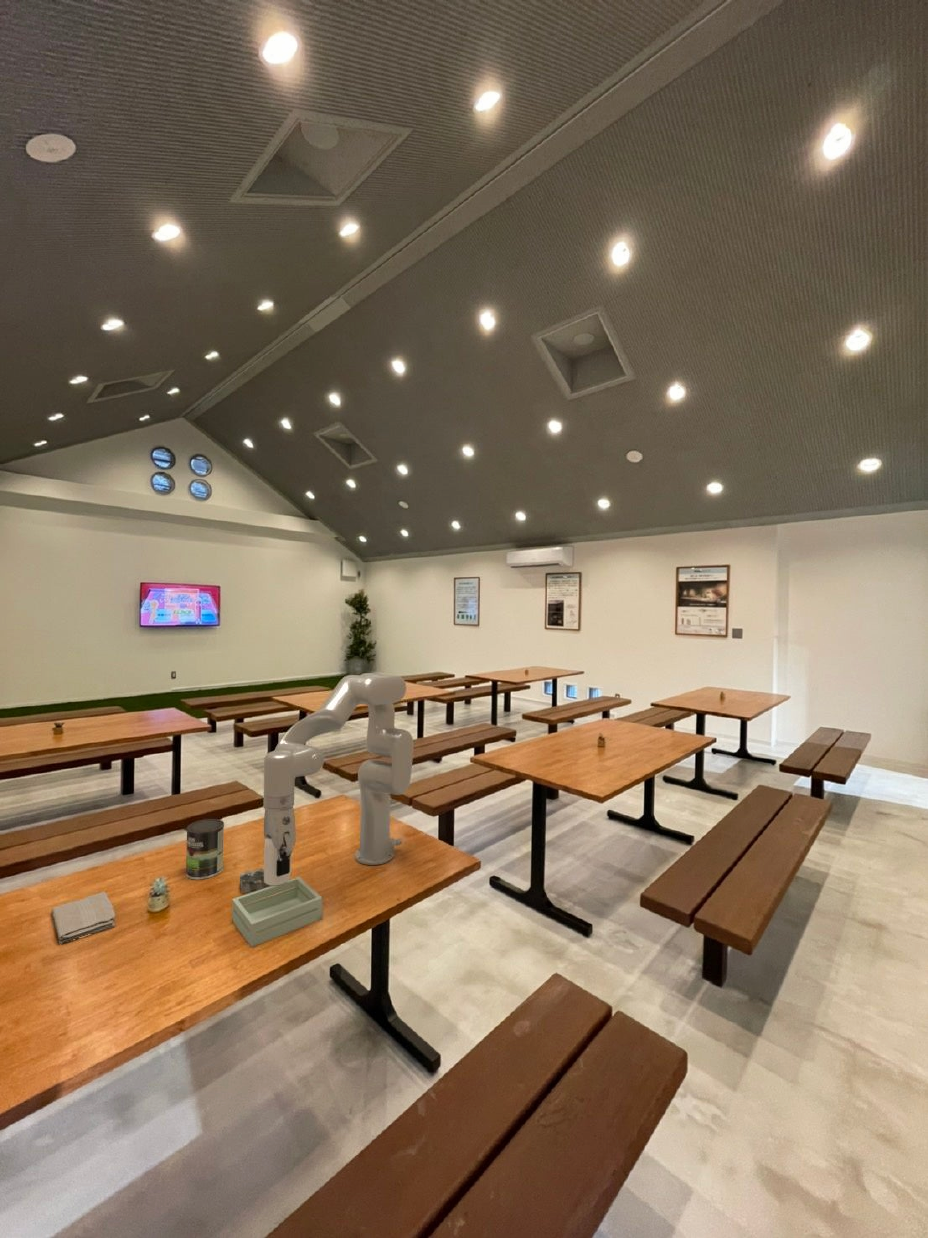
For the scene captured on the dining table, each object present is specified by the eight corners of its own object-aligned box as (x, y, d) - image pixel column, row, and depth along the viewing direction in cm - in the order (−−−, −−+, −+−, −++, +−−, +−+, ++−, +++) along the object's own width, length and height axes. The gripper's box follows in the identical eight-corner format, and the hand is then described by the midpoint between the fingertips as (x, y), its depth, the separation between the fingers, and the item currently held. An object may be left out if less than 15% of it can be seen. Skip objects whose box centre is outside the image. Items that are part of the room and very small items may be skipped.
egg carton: (239, 896, 147) (239, 882, 147) (238, 883, 154) (239, 869, 154) (280, 888, 151) (280, 874, 151) (277, 876, 158) (277, 862, 158)
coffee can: (203, 883, 153) (203, 835, 153) (177, 875, 157) (178, 828, 156) (231, 867, 162) (231, 822, 162) (206, 860, 166) (207, 816, 166)
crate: (298, 896, 147) (299, 876, 147) (321, 918, 137) (322, 897, 136) (231, 920, 135) (232, 899, 135) (251, 947, 125) (251, 924, 124)
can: (267, 874, 139) (268, 829, 138) (293, 873, 139) (293, 828, 139) (260, 887, 132) (261, 839, 132) (286, 886, 133) (287, 839, 132)
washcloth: (59, 948, 123) (59, 935, 123) (49, 915, 136) (49, 904, 136) (118, 928, 132) (118, 916, 132) (104, 899, 144) (104, 887, 144)
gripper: (307, 806, 131) (306, 877, 131) (279, 788, 144) (278, 853, 144) (278, 813, 126) (276, 887, 127) (252, 793, 139) (250, 861, 139)
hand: (277, 868), depth 135 cm, fingers closed on can, 6 cm apart
